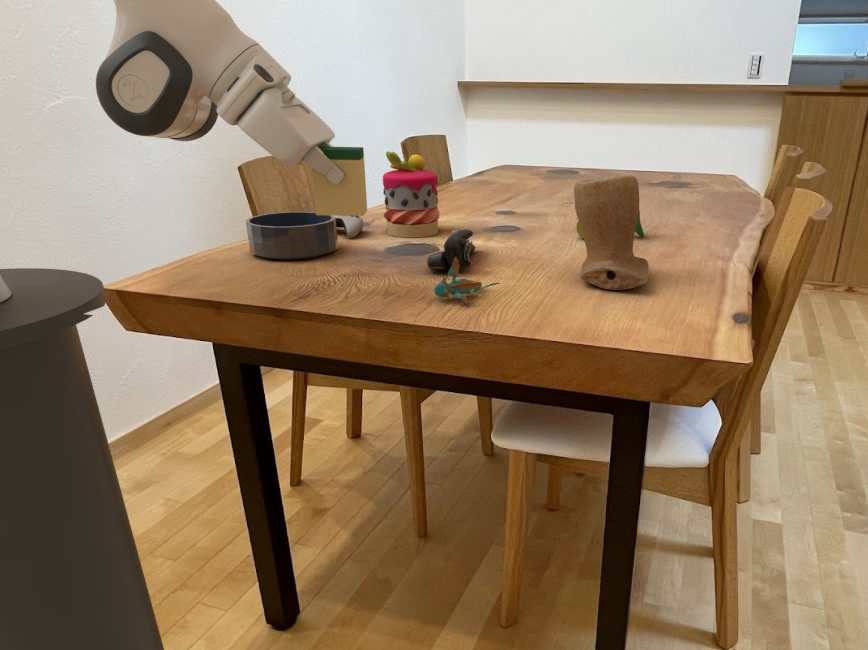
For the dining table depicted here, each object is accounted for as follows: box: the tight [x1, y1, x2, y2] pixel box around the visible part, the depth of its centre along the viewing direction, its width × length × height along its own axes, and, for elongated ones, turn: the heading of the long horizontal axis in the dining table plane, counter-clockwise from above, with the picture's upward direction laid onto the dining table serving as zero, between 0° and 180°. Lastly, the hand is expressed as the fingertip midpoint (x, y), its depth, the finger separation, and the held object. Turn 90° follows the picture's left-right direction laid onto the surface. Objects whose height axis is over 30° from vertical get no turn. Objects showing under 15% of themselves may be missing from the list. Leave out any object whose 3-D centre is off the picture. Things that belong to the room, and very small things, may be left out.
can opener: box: [426, 229, 476, 271], centre depth 106 cm, size 18×7×6 cm, turn 171°
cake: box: [382, 151, 440, 238], centre depth 126 cm, size 10×11×15 cm
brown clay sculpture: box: [573, 174, 650, 291], centre depth 96 cm, size 15×12×15 cm
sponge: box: [311, 146, 368, 217], centre depth 85 cm, size 6×4×8 cm, turn 95°
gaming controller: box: [333, 215, 364, 239], centre depth 126 cm, size 11×6×7 cm
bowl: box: [245, 211, 339, 261], centre depth 111 cm, size 14×14×6 cm
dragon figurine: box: [433, 257, 501, 305], centre depth 89 cm, size 6×7×8 cm
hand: (344, 177), depth 84 cm, fingers closed on sponge, 4 cm apart
